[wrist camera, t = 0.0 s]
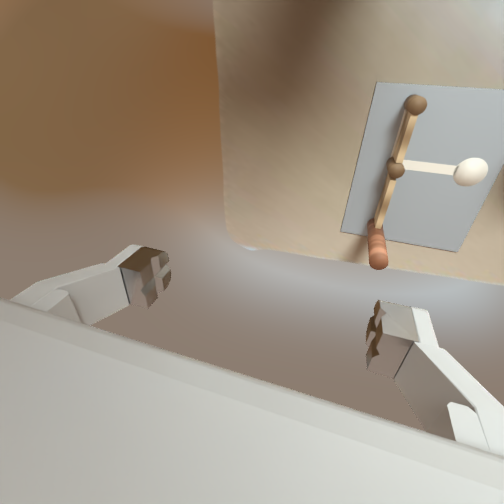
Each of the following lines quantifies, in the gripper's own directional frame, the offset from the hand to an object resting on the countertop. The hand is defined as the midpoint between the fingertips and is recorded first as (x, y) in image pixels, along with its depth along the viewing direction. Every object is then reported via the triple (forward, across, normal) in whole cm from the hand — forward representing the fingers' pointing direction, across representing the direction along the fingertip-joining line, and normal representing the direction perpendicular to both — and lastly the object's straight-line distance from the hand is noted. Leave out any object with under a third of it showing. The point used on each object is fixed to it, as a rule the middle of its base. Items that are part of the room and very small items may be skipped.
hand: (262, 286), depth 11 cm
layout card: (+48, -16, +8) cm, 51 cm away
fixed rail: (+48, -11, +2) cm, 49 cm away
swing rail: (+47, -11, +14) cm, 51 cm away
